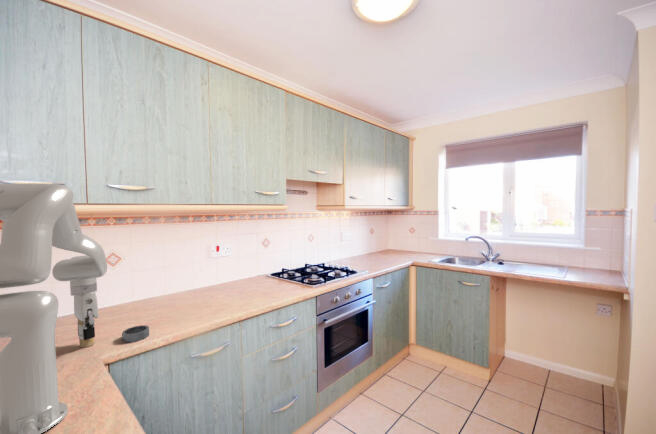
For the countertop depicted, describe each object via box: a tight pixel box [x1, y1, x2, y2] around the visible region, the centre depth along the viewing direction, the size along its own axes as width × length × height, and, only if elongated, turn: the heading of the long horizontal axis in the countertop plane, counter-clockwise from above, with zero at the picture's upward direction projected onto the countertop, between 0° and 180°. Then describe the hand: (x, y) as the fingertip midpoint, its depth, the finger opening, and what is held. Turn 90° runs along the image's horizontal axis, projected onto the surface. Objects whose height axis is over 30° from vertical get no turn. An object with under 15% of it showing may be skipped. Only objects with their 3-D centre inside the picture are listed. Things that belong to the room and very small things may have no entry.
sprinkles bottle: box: [77, 315, 95, 349], centre depth 106 cm, size 5×5×14 cm
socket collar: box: [121, 324, 150, 344], centre depth 112 cm, size 9×9×3 cm
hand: (86, 336), depth 106 cm, fingers open, 5 cm apart
